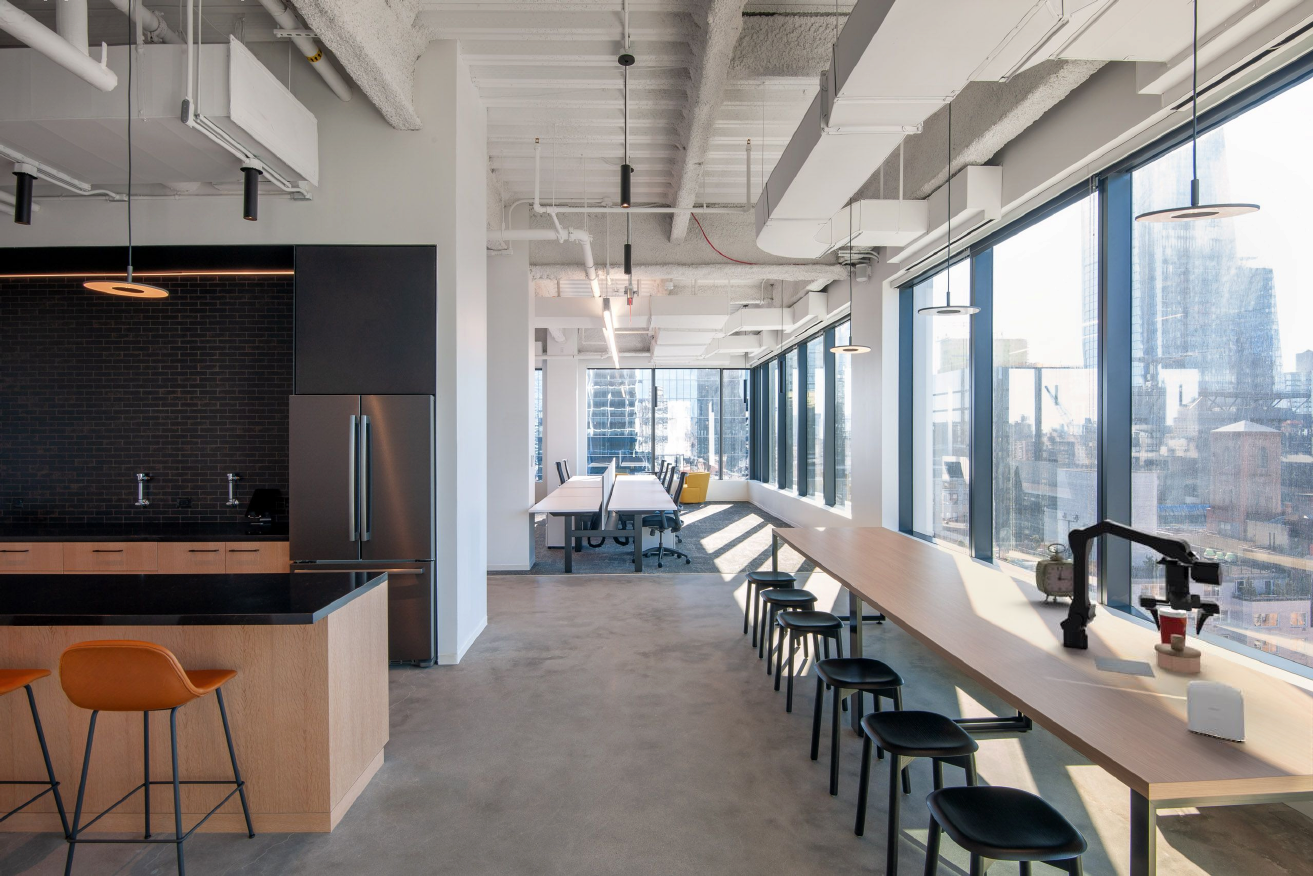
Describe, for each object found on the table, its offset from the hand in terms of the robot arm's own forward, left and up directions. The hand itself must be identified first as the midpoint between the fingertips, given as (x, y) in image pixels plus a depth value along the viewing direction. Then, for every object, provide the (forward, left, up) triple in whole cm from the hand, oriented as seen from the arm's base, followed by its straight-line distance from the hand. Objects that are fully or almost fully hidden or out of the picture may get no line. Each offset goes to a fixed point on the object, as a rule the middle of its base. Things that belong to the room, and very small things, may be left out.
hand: (1178, 632), depth 199 cm
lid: (0, 0, -6) cm, 6 cm away
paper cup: (+1, +16, -11) cm, 20 cm away
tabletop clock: (-30, +74, -11) cm, 81 cm away
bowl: (0, 0, -11) cm, 11 cm away
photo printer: (0, -51, -11) cm, 52 cm away
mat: (-14, -7, -11) cm, 19 cm away
